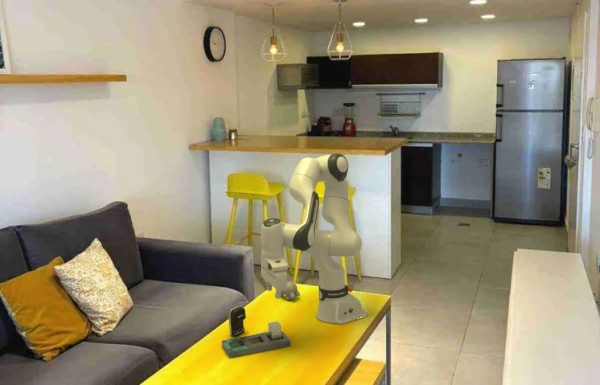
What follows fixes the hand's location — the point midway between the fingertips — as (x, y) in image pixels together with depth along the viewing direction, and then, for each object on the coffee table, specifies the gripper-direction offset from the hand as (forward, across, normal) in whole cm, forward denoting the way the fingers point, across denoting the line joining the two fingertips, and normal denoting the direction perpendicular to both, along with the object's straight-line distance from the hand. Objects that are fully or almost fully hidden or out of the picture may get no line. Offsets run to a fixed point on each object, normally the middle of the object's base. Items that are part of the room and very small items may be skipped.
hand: (273, 294), depth 236 cm
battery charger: (+21, -14, -11) cm, 27 cm away
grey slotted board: (+20, 0, -8) cm, 22 cm away
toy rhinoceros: (+20, -43, +22) cm, 53 cm away
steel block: (+20, 0, 0) cm, 21 cm away
